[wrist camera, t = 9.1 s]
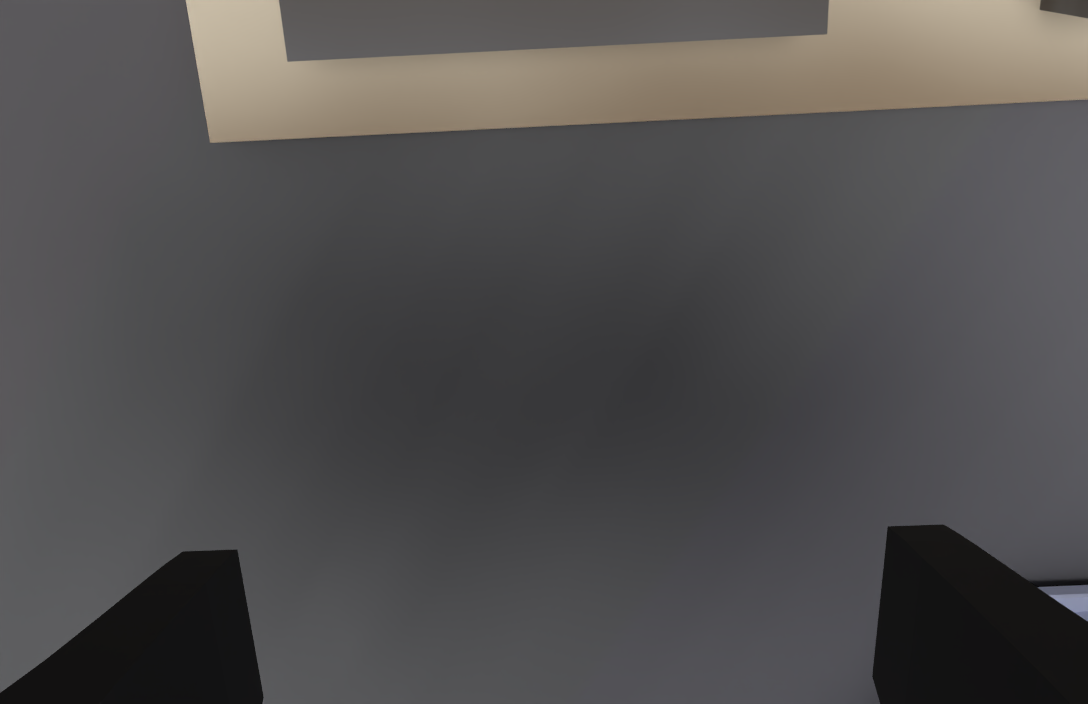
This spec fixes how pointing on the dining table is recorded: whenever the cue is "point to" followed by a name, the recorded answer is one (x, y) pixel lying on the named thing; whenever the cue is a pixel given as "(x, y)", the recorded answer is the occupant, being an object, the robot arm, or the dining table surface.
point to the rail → (616, 60)
